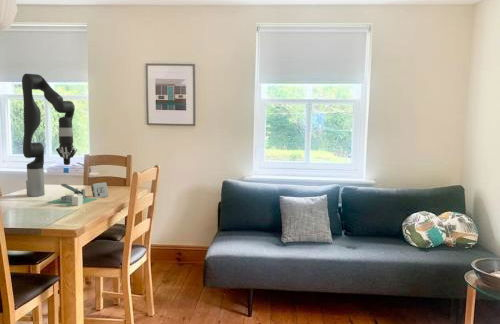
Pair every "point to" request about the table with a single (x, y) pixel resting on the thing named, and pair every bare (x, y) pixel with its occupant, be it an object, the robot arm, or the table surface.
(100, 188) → the electrical switch
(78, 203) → the latch
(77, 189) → the board
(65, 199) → the white slotted block
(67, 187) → the thin grey panel
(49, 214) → the table surface
